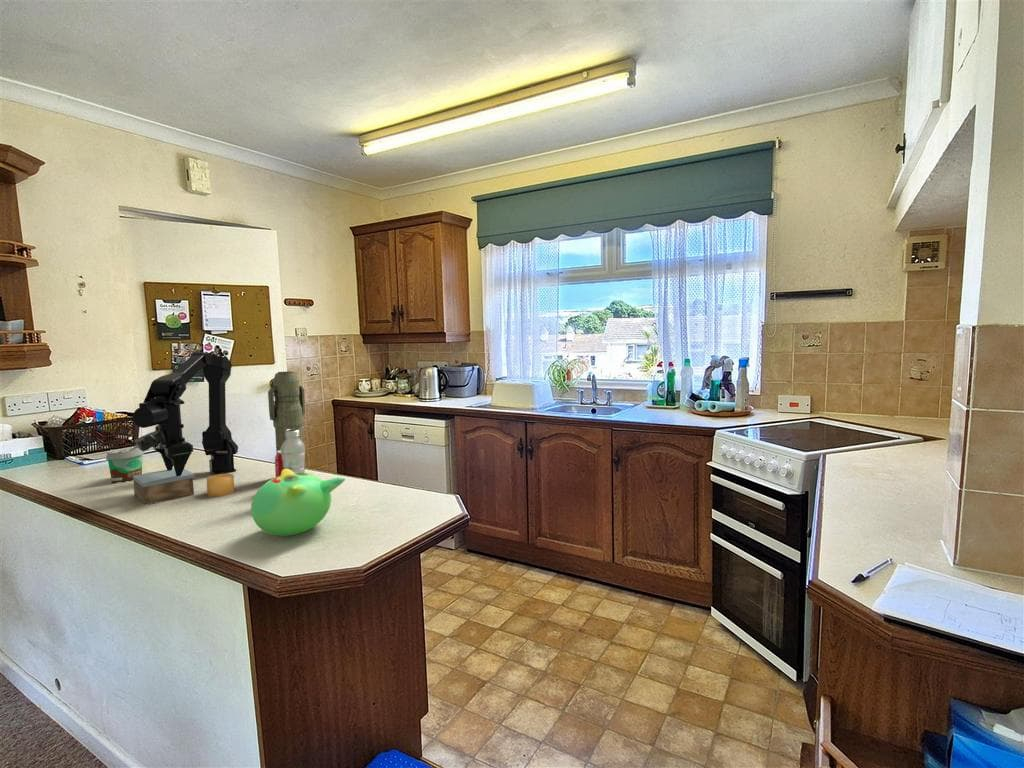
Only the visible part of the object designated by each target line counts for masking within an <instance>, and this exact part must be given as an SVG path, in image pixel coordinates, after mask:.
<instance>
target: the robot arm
mask: <svg viewBox="0 0 1024 768" xmlns="http://www.w3.org/2000/svg"><path fill="white" fill-rule="evenodd" d="M190 354H191V355H190V356H189V357H188V358H187V359H186V360H185V361H183V363H181V364H180V365H179V366H177V368H175V369H174V370H173V371H172V372H170V373H169V374H165V375H161V376H160V377H157V378H156V379H154V380H153V381H151V384H150V386H149V388H148V390H147V393H146V395H145V398H144V400H143V402H139V404H138V408H136V409H135V411H134V412H133V414H132V420H133V423H134V424H135V425H136V426H137V427H139V428H142V429H145V428H146V429H147V428H149V427H153V426H155V427H154V429H155V430H154V431H151V432H148V433H147V434H144V435H142V436H139V437H138V438H136V439H134V440H133V441H134V442H135V444H136V446H138V448H139V449H140V450H142V451H144V452H145V451H148V450H149V449H151V448H153V450H154V451H155V452H158V453H159V454H160V456H161V458H162V460H163V464H164V466H165V468H166V470H167V471H170V470H172V469H174V470H175V473H176V476H181V474H182V472H183V470H184V469H185V467H186V464H187V462H188V460H189V458H190V457H191V455H192V453H193V452H194V445H193V444H192V443H191V442H188V441H186V439H185V437H183V429H184V428H185V424H183V423H182V412H181V405H184V404H185V400H183V399H181V397H182V395H183V394H184V393H185V391H186V390H187V384H188V382H190V381H191V380H192V379H193V378H194V377H195V376H196V375H197V374H199V372H200V371H202V375H203V377H204V379H205V380H206V381H207V383H208V426H207V428H206V430H203V431H202V432H201V435H202V436H201V437H202V439H201V440H202V441H201V444H202V447H203V451H204V454H205V456H210V458H209V460H208V462H209V463H208V464H209V472H210V473H211V474H213V475H217V474H228V473H231V472H232V471H233V472H236V471H237V469H236V468H235V461H234V455H236V454H237V453H238V451H239V445H238V444H237V443H236V442H235V441H234V440H233V438H232V437H233V436H232V431H231V429H230V428H229V427H228V426H227V423H226V422H227V419H226V418H227V417H226V415H227V411H226V410H227V409H226V408H227V407H226V405H227V404H226V403H227V402H226V382H227V381H228V380H229V378H230V377H231V371H232V367H233V365H232V364H233V363H232V361H231V360H230V359H229V358H228V357H227V356H219V355H215V354H212V353H210V352H208V351H205V352H204V351H203V352H202V351H199V352H197V351H194V352H192V353H190ZM233 472H232V473H233Z"/></svg>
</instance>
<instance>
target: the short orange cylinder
mask: <svg viewBox="0 0 1024 768" xmlns="http://www.w3.org/2000/svg"><path fill="white" fill-rule="evenodd" d="M205 481H206V489H207V490H206V491H207V493H206V494H207V496H208V497H211V496H212V497H213V498H214V497H223V496H224V495H225V496H228V494H229V495H232V494H233V493H235V475H234V473H222V474H213V475H210V476H207V477H206V480H205ZM231 493H232V494H231Z"/></svg>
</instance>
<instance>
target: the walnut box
mask: <svg viewBox="0 0 1024 768" xmlns="http://www.w3.org/2000/svg"><path fill="white" fill-rule="evenodd" d="M132 482H133V495H134V498H136V499H137V498H138V499H139V500H138V499H137V500H138V501H140V503H142V504H143V505H144V506H147V505H146V504H148V505H151V503H152V504H155V502H157V503H160V502H161V501H162V502H166V500H167V501H171V499H172V500H175V499H180V498H185V497H190V495H191V496H195V489H194V478H190V479H184V480H179V481H174V482H169V483H163V484H158V485H153V486H148V487H143V486H141V485H140V484H139V483H137V482H136V481H135V480H134V479H133V481H132Z"/></svg>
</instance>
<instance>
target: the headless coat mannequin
mask: <svg viewBox="0 0 1024 768" xmlns="http://www.w3.org/2000/svg"><path fill="white" fill-rule="evenodd" d="M272 380H273V381H272V387H270V388H269V390H268V391H267V395H268V396H267V399H268V415H269V420H270V421H273V423H272V424H273V425H272V426H273V428H274V430H275V432H274V433H275V451H276V452H275V453H276V454H277V451H278V450H281V446H282V444H283V443H284V441H285V440H286V437H285V431H286V430H289V429H299V434H300V436H299V439H300V440H301V441H302V442H303V433H302V432H303V431H302V428H303V425H304V423H303V422H304V419H303V418H304V416H305V414H306V404H305V403H306V402H305V401H306V400H305V388H304V387H303V386H302V385H300V380H299V378H298V375H297V372H294V371H277V373H275V374H274V378H273V379H272ZM305 470H306V459H304V472H305ZM305 473H306V472H305Z"/></svg>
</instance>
